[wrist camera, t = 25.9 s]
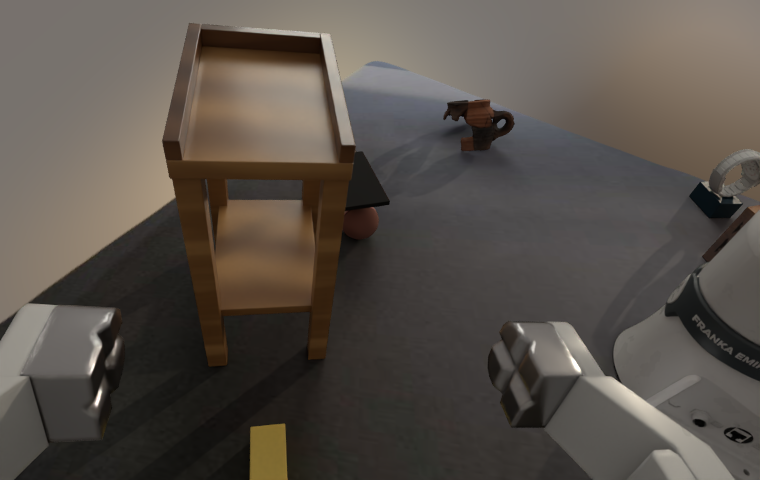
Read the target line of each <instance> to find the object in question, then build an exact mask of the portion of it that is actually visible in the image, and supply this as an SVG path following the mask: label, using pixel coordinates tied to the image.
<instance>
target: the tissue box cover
mask: <svg viewBox="0 0 760 480" xmlns="http://www.w3.org/2000/svg"><path fill="white" fill-rule="evenodd" d="M759 210H760V205H758V206H752V207H747V208H746V209H745V210H744V211H743V213H742V214H741V215H740V216H739V217H738V218H737V219H736V220H735V221H734V222H733V223H732V224H731V226H730V227H729V228H728V229H727V230H726V231H725V232H724V233H723V234H722V235H721V236H720V238H719V239H718V240H717V241H716V242H715V243H714V244H713V245H712V246H711V247H710V248H709V249H708V251H707V252H706V253H705V254H704V255H703V256H702V257H703V258H704V259H705V260H706V261H707V262H710V261H711V260H712V259H713V258H714V257H715V256H716V255H717V254H718V253H719V252H720V250H721V249H722V248H723V247H724V246H725V245H726V244H727V243H728V242H729V241H730V240H731V239H732V238H733V237H734V236H735V235H736V234H737V233H738V231H739V230H740V229H741V228H742V227H743V226H744V225H745V224H746V223H747V222H748V221H749V220H750V219H751V218H752V217H753V216H754V215H755V214H756V213H757V212H758V211H759Z"/></svg>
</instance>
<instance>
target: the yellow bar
mask: <svg viewBox="0 0 760 480" xmlns="http://www.w3.org/2000/svg"><path fill="white" fill-rule="evenodd" d="M250 480H287V460H286V433H285V424H276V425H266V426H256V427H251V428H250Z"/></svg>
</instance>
